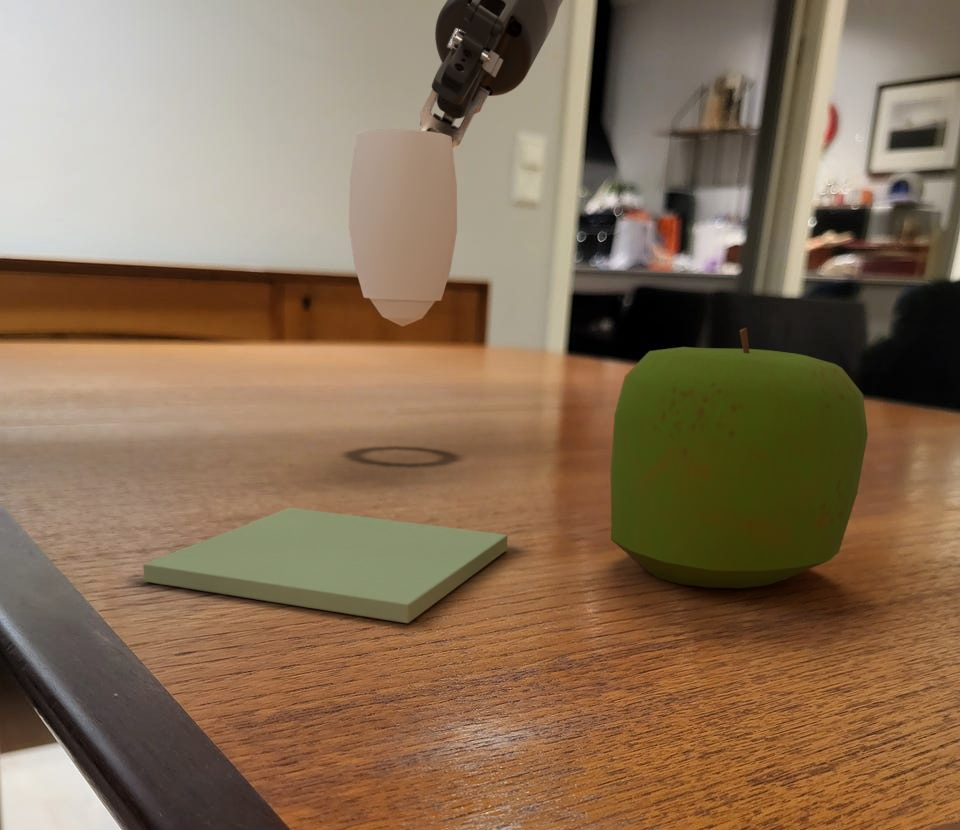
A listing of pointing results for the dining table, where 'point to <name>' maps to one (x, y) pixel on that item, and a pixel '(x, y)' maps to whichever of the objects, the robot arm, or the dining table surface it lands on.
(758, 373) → the apple
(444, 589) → the drink mat
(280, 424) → the dining table surface
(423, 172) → the white rounded shell
